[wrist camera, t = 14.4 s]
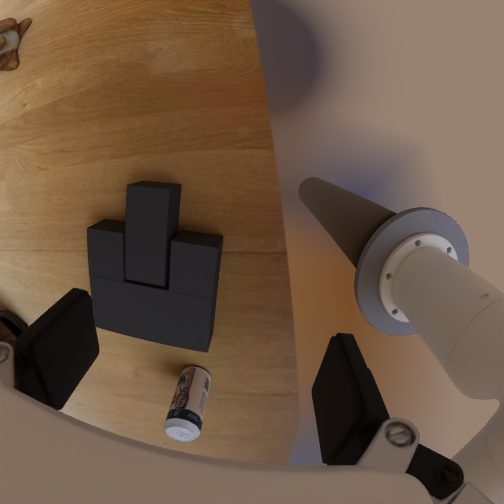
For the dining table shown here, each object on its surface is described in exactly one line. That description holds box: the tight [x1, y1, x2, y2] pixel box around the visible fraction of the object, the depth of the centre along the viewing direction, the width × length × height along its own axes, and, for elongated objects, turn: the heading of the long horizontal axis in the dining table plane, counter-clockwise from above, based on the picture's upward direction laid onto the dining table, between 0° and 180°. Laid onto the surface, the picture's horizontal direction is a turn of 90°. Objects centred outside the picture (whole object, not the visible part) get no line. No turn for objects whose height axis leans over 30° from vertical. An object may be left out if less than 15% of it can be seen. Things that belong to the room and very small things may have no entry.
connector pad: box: [125, 181, 182, 286], centre depth 32 cm, size 5×11×4 cm, turn 171°
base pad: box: [87, 219, 223, 353], centre depth 34 cm, size 16×14×4 cm
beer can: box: [164, 367, 211, 443], centre depth 36 cm, size 5×5×12 cm
